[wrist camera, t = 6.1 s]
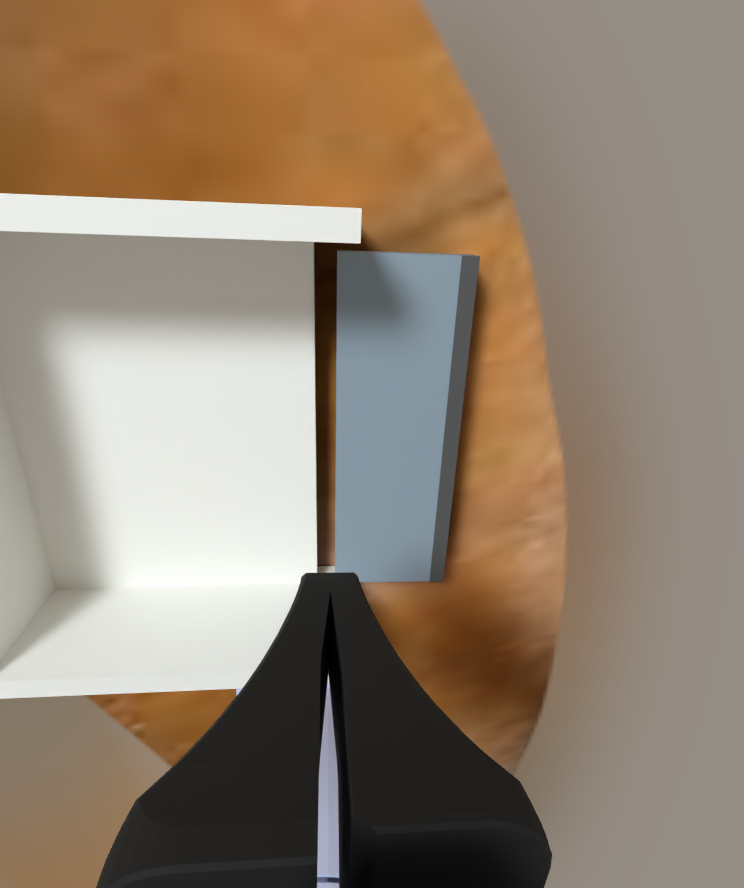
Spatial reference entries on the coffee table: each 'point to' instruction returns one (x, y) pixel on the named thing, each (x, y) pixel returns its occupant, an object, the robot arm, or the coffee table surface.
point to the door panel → (399, 408)
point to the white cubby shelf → (154, 438)
